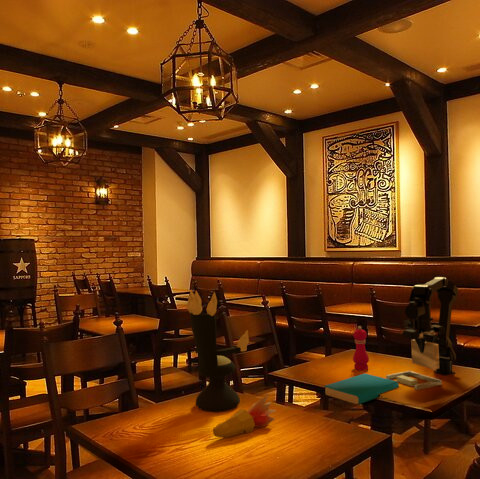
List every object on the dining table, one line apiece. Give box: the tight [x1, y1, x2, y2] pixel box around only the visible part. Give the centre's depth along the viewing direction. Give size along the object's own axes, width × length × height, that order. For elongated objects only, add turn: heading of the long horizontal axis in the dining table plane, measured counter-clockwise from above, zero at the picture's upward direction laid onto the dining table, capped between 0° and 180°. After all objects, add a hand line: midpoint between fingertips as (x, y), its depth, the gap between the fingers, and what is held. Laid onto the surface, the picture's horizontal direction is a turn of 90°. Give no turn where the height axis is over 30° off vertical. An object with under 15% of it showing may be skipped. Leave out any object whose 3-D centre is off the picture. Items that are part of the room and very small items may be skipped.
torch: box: [212, 394, 277, 438], centre depth 158 cm, size 8×8×25 cm
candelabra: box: [186, 289, 250, 413], centre depth 182 cm, size 19×22×45 cm
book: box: [324, 372, 400, 406], centre depth 193 cm, size 17×4×25 cm
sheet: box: [410, 339, 439, 371], centre depth 203 cm, size 3×12×10 cm, turn 25°
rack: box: [385, 370, 443, 391], centre depth 199 cm, size 13×17×3 cm
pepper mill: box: [352, 325, 370, 371], centre depth 227 cm, size 7×7×20 cm
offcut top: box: [396, 375, 419, 387], centre depth 198 cm, size 3×8×2 cm, turn 27°
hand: (424, 352), depth 203 cm, fingers closed on sheet, 3 cm apart
